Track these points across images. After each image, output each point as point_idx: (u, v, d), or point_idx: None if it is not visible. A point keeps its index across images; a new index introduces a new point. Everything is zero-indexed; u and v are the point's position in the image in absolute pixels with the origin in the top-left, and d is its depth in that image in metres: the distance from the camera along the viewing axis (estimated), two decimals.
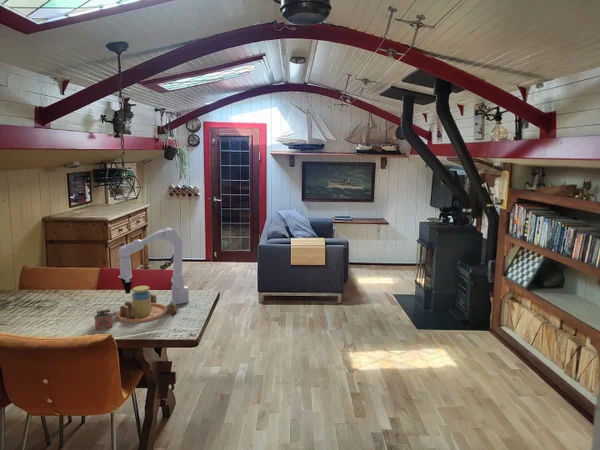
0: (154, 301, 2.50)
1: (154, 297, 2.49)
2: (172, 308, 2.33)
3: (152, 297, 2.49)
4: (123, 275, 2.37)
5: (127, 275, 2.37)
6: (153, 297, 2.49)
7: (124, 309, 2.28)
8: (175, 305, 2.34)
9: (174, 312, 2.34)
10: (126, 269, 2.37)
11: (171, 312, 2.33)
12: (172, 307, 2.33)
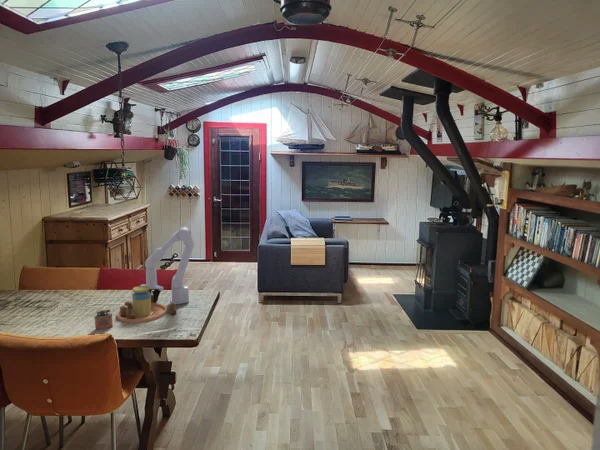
0: None
1: None
2: (172, 308, 2.33)
3: (152, 297, 2.49)
4: (153, 285, 2.47)
5: (156, 285, 2.49)
6: (153, 297, 2.49)
7: (124, 309, 2.28)
8: (175, 305, 2.34)
9: (174, 312, 2.34)
10: (155, 279, 2.48)
11: (171, 312, 2.33)
12: (172, 307, 2.33)
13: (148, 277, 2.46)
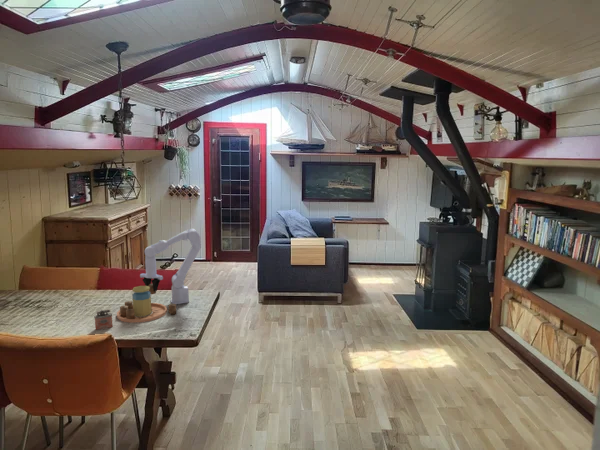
0: None
1: None
2: (172, 308, 2.33)
3: (151, 286, 2.46)
4: (152, 274, 2.44)
5: (155, 274, 2.46)
6: (152, 286, 2.46)
7: (124, 309, 2.28)
8: (175, 305, 2.34)
9: (174, 312, 2.34)
10: (155, 268, 2.45)
11: (171, 312, 2.33)
12: (172, 307, 2.33)
13: (148, 266, 2.43)
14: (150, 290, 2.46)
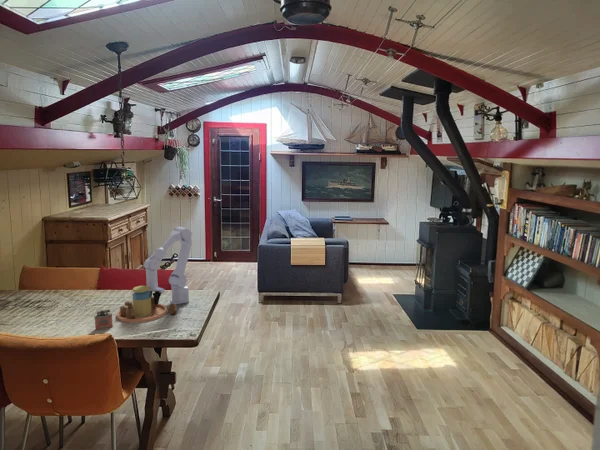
0: None
1: None
2: (172, 308, 2.33)
3: (153, 299, 2.39)
4: (154, 287, 2.38)
5: (157, 287, 2.40)
6: None
7: (124, 309, 2.28)
8: (175, 305, 2.34)
9: (174, 312, 2.34)
10: (156, 281, 2.39)
11: (171, 312, 2.33)
12: (172, 307, 2.33)
13: (152, 279, 2.37)
14: (151, 303, 2.40)
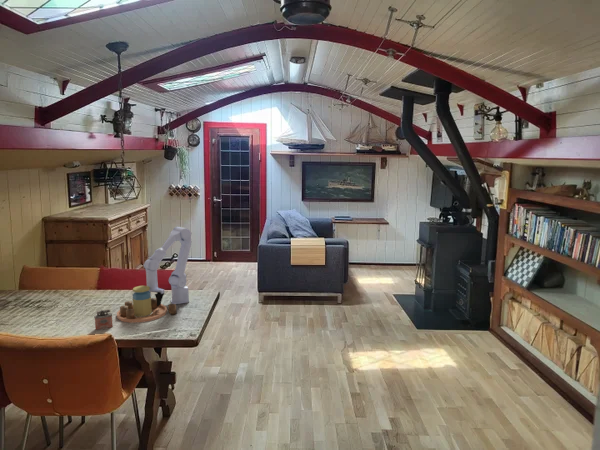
0: (155, 305, 2.41)
1: (155, 301, 2.40)
2: (172, 308, 2.33)
3: (153, 301, 2.40)
4: (154, 288, 2.38)
5: (157, 287, 2.40)
6: (154, 301, 2.40)
7: (124, 309, 2.28)
8: (175, 305, 2.34)
9: (174, 312, 2.34)
10: (156, 281, 2.39)
11: (171, 312, 2.33)
12: (172, 307, 2.33)
13: (152, 279, 2.37)
14: (151, 305, 2.40)
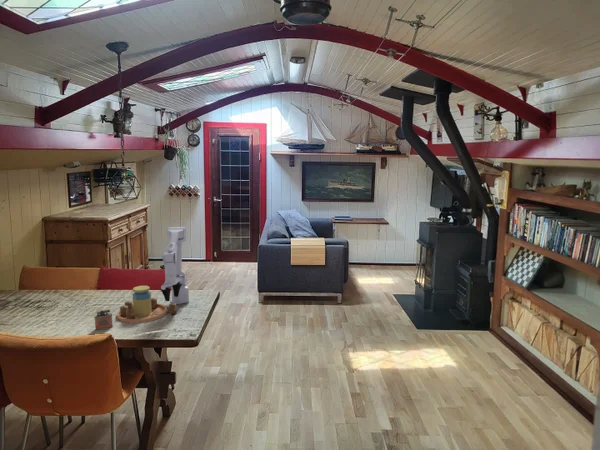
0: (155, 305, 2.41)
1: (155, 301, 2.40)
2: (172, 308, 2.33)
3: (153, 301, 2.40)
4: (165, 281, 2.31)
5: (168, 282, 2.30)
6: (154, 301, 2.40)
7: (124, 309, 2.28)
8: (175, 305, 2.34)
9: (174, 312, 2.34)
10: (167, 276, 2.29)
11: (171, 312, 2.33)
12: (173, 307, 2.33)
13: (175, 272, 2.31)
14: (151, 305, 2.40)
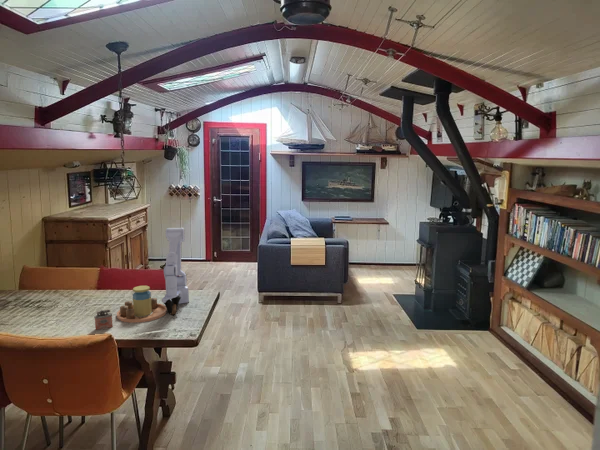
0: (155, 305, 2.41)
1: (155, 301, 2.40)
2: (172, 308, 2.33)
3: (153, 301, 2.40)
4: (166, 294, 2.32)
5: (169, 295, 2.31)
6: (154, 301, 2.40)
7: (124, 309, 2.28)
8: (175, 305, 2.34)
9: (174, 312, 2.34)
10: (168, 289, 2.30)
11: (172, 312, 2.33)
12: (173, 307, 2.33)
13: (175, 285, 2.32)
14: (151, 305, 2.40)
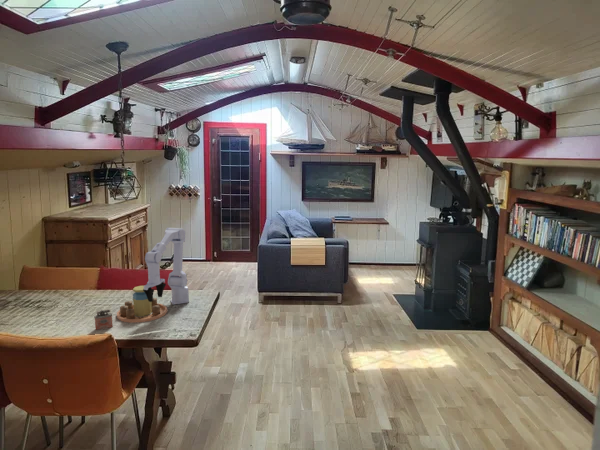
0: None
1: (155, 301, 2.40)
2: (156, 310, 2.28)
3: (153, 301, 2.40)
4: None
5: (151, 282, 2.25)
6: (154, 301, 2.40)
7: (124, 309, 2.28)
8: (159, 306, 2.30)
9: (158, 314, 2.29)
10: (150, 276, 2.24)
11: (155, 314, 2.28)
12: (156, 309, 2.28)
13: (156, 272, 2.25)
14: None
